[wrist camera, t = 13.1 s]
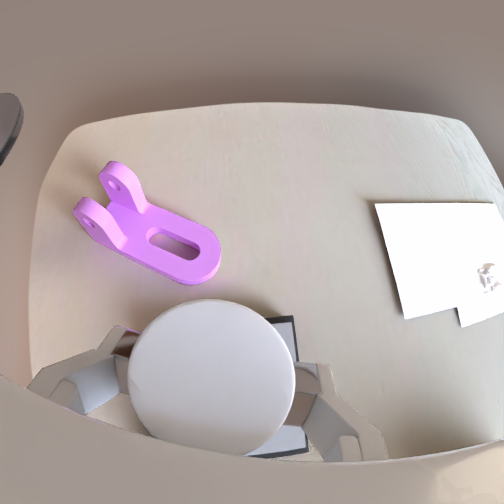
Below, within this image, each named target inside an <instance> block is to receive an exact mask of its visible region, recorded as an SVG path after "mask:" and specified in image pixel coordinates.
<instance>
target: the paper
mask: <svg viewBox="0 0 504 504" xmlns="http://www.w3.org/2000/svg"><path fill="white" fill-rule="evenodd" d="M375 207H376V210H377V213H378V217H379V220H380V224H381V227H382V231H383V235H384V239H385V243H386V247H387V251H388V254H389V258H390V261H391V265H392V269H393V272H394V276H395V280H396V284H397V287H398V292H399V296H400V300H401V304H402V308H403V313H404V317H405V319H409V318H413V317H418V316H422V315H426V314H430V313H434V312H438V311H442V310H446V309H450V308H454V307H457V309H458V314H459V318H460V323H461V327H465V326H468V325H471V324H474V323H476V322H479V321H482V320H484V319H487V318H489V317H492V316H494V315H497V314H499V313H502V312H504V223H503V221H502V218H501V216H500V213H499V211H498V208H497V206H496V204H490V203H386V204H375Z"/></svg>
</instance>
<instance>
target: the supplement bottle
mask: <svg viewBox="0 0 504 504" xmlns="http://www.w3.org/2000/svg"><path fill="white" fill-rule="evenodd" d="M127 383H128V390H129V395H130V399H131V403H132V406H133V408H134V410H135V412H136V414H137V416H138V418H139V420H140V421H141V423H142V424H143V426H144V427H145V428H146V429H147V430H148V432H149V433H150V434H151V435H152V436H153V437H154V438H156V439H160V440H164V441H168V442H172V443H176V444H181V445H185V446H190V447H194V448H199V449H204V450H210V451H215V452H221V453H227V454H234V455H241V456H242V455H245V454H247V453H249V452H251V451H253V450H255V449H257V448H259V447H260V446H262V445H263V444H264V443H266V442H267V441H268V440H269V439H271V438H272V437H273V435H274V434H275V433H276V432H277V431H278V430H279V429H280V427H281V426H282V424H283V423H284V421H285V419H286V418H287V415H288V413H289V411H290V408H291V406H292V402H293V398H294V392H295V370H294V365H293V361H292V358H291V355H290V352H289V350H288V348H287V345H286V344H285V342H284V340H283V339H282V337H281V336H280V334H279V333H278V332H277V330H276V329H275V328H274V327H273V326H272V325H271V324H270V323H269V322H268V321H267V320H265V319H264V318H263V317H262V316H260V315H259V314H258V313H256V312H254V311H253V310H251V309H249V308H247V307H245V306H243V305H240V304H238V303H234V302H230V301H226V300H219V299H198V300H192V301H187V302H184V303H181V304H178V305H176V306H173V307H171V308H170V309H168V310H166V311H164V312H163V313H161V314H160V315H158V316H157V317H156V318H155V319H154V320H153V321H151V322H150V323H149V324H148V325H147V327H146V328H145V329H144V330H143V331H142V333H141V334H140V336H139V337H138V339H137V341H136V343H135V345H134V347H133V349H132V352H131V356H130V359H129V364H128V372H127Z"/></svg>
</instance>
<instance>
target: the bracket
mask: <svg viewBox="0 0 504 504" xmlns="http://www.w3.org/2000/svg"><path fill="white" fill-rule="evenodd" d="M99 179H100V181H101V183H102V185H103V187H104V188H105V190H106V192H107V194H108V196H109V198H110V200H111V202H110V203H109V205H108V206H107V208H106V209H105V208H104V207H102V206H101V205H100V204H98V203H97V202H95V201H93V200H92V199H89V198H87V197H82V198H81V200H80V201H79V202H78V204H77V205H76V207H75V208H74V210H73V214H74V216H75V217H76V218H77V219H78V221H79V222H80V223H81V225H82V226H83V227H84V228H85V230H86V231H87V232H88V233H89V235H90V236H91V237H92V238H93V240H94V241H96V242H98V243H100V244H102V245H104V246H106V247H108V248H110V249H112V250H114V251H116V252H118V253H119V254H121V255H123V256H125V257H127V258H129V259H131V260H133V261H135V262H137V263H139V264H141V265H143V266H145V267H147V268H149V269H152V270H154V271H156V272H158V273H160V274H162V275H164V276H166V277H168V278H170V279H172V280H174V281H176V282H179V283H181V284H185V285H196V284H200V283H203V282H205V281H207V280H208V279H210V278H211V277H212V276H213V275H214V274H215V273H216V271H217V270H218V268H219V265H220V261H221V247H220V243H219V240H218V238H217V237H216V235H215V234H214V233H213V232H212V231H211V230H210V229H208V228H207V227H205V226H202V225H200V224H198V223H195V222H193V221H190V220H188V219H186V218H183V217H181V216H178V215H176V214H174V213H171V212H169V211H167V210H164V209H162V208H159V207H157V206H155V205H152V204H150V203H148V202H147V201H146V199H145V197H144V194H143V191H142V188H141V186H140V183H139V180H138V178H137V177H136V175H135V174H134V173H133V172H132V171H131V170H130V169H129V168H128V167H126V166H125V165H123V164H121V163H119V162H117V161H109V162H108V163H107V165H106V166H105V167H104V168H103V170H102V171H101V172H100V174H99ZM157 233H161V234H164V235H166V236H169V237H171V238H173V239H175V240H178V241H180V242H182V243H184V244H187V245H189V246H191V247H193V248H196V249H198V250H199V251H200V254H199V256H198V257H197V258H196V259H194V260H185V259H183V258H181V257H179V256H176V255H174V254H172V253H170V252H168V251H165V250H163V249H161V248H159V247H157V246H155V245H152V244H150V243H149V241H150V238H151V237H152V236H153V235H154V234H157Z"/></svg>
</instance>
